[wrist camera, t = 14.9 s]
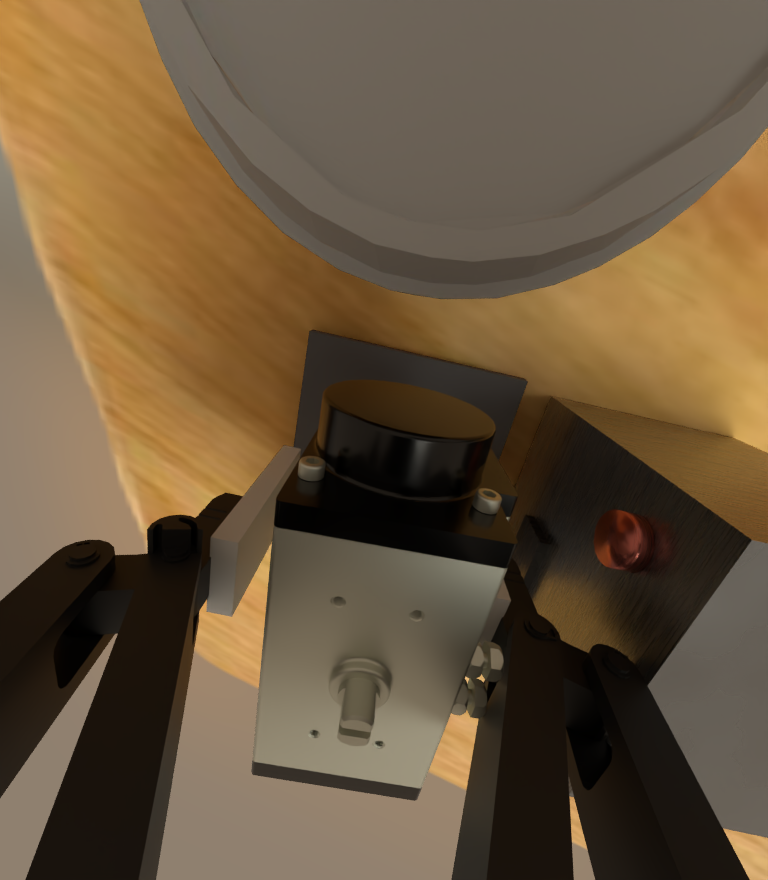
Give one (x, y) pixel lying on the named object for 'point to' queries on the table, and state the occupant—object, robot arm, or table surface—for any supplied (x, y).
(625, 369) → the table surface
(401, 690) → the pneumatic valve
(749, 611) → the block
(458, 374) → the pad
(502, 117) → the disposable coffee cup
